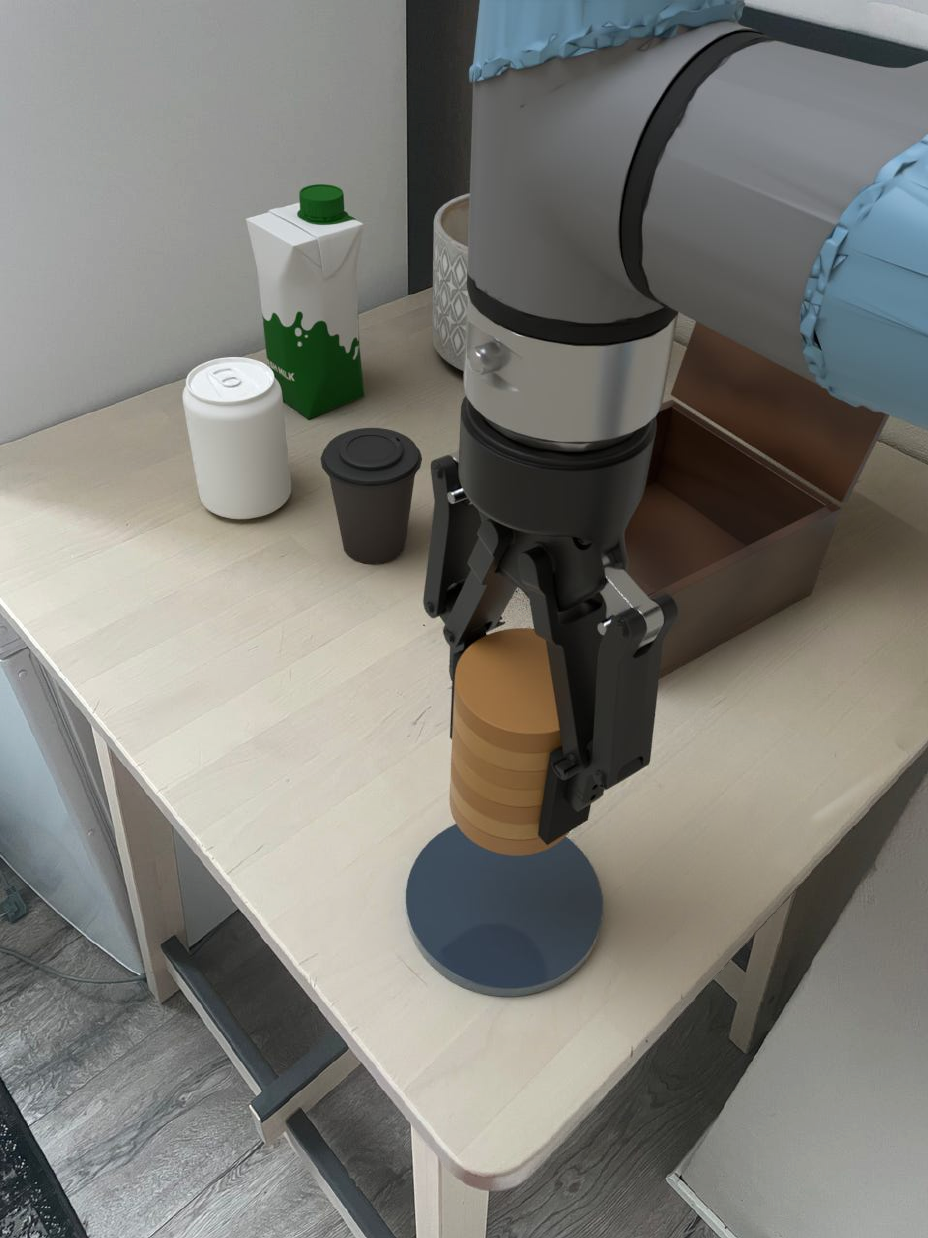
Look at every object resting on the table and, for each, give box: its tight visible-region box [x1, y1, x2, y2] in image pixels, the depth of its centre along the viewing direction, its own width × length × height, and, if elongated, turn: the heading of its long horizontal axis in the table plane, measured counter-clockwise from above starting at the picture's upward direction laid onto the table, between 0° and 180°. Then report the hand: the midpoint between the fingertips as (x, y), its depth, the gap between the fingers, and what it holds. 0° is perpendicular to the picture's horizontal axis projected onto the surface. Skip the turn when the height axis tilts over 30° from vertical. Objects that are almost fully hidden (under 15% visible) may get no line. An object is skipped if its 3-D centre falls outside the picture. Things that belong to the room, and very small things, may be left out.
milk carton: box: [245, 183, 365, 420], centre depth 99 cm, size 9×9×20 cm
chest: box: [558, 399, 843, 679], centre depth 83 cm, size 20×19×9 cm
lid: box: [670, 321, 890, 504], centre depth 80 cm, size 21×19×5 cm
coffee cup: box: [320, 427, 423, 565], centre depth 85 cm, size 8×8×10 cm
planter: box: [431, 192, 470, 372], centre depth 109 cm, size 19×19×14 cm
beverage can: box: [182, 356, 292, 520], centre depth 88 cm, size 8×8×12 cm
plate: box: [405, 823, 604, 998], centre depth 63 cm, size 12×12×1 cm
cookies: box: [448, 627, 570, 856], centre depth 53 cm, size 7×7×10 cm
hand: (516, 777), depth 55 cm, fingers closed on cookies, 7 cm apart
